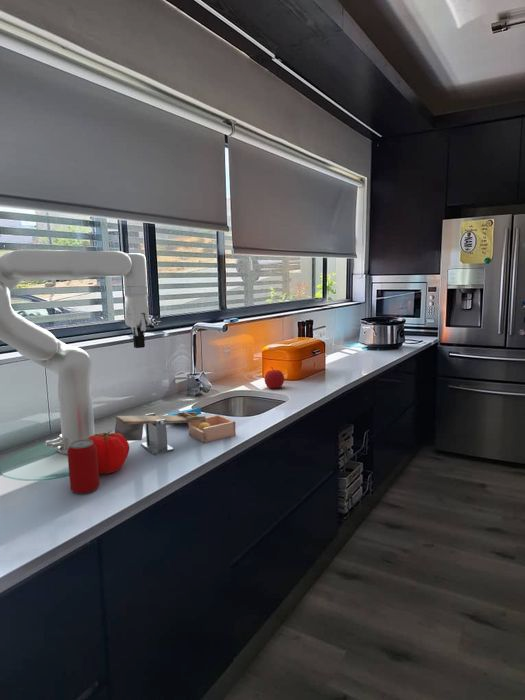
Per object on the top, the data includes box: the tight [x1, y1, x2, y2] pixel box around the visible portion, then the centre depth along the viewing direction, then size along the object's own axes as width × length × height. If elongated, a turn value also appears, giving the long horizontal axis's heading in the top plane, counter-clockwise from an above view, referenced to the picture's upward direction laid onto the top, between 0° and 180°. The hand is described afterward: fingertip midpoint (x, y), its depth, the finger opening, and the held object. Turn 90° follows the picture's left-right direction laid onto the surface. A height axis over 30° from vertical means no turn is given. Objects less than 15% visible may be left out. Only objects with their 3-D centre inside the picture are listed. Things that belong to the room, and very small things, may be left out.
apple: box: [264, 367, 285, 389], centre depth 221 cm, size 9×9×10 cm
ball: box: [199, 422, 210, 431], centre depth 155 cm, size 4×4×4 cm
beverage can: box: [67, 439, 100, 495], centre depth 116 cm, size 7×7×12 cm
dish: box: [188, 414, 237, 443], centre depth 156 cm, size 12×11×4 cm
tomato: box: [88, 430, 130, 475], centre depth 128 cm, size 13×12×11 cm
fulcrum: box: [140, 412, 175, 456], centre depth 145 cm, size 6×11×10 cm, turn 36°
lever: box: [114, 411, 206, 442], centre depth 145 cm, size 26×7×7 cm, turn 126°
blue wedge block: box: [167, 406, 202, 416], centre depth 169 cm, size 7×7×18 cm
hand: (139, 347), depth 157 cm, fingers closed
